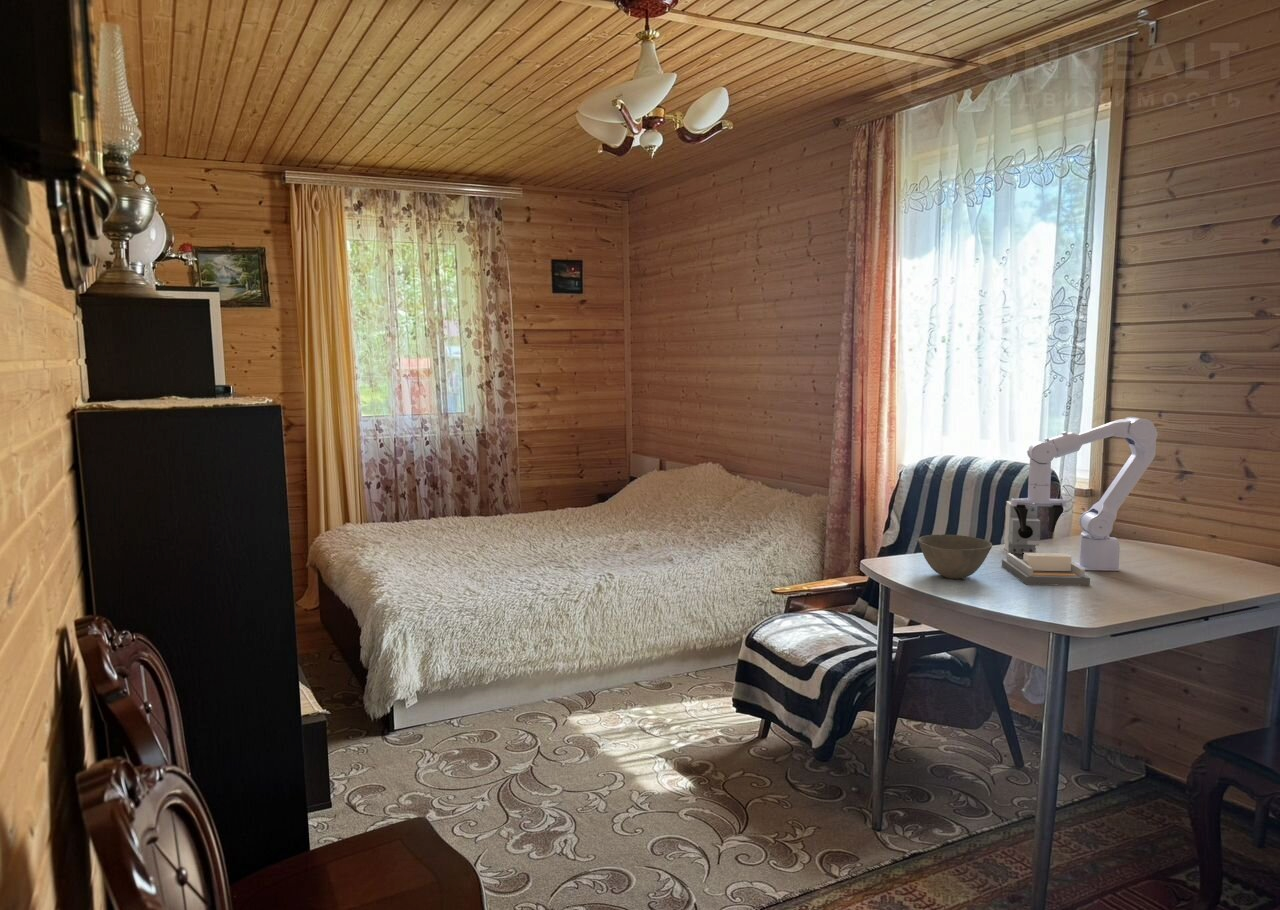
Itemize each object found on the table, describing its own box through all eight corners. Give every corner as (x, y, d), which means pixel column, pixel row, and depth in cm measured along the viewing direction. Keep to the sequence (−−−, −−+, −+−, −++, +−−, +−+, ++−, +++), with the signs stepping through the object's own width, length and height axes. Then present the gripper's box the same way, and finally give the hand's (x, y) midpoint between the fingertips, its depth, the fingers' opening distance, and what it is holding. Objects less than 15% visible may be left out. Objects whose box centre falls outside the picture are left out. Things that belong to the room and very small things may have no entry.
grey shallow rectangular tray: (1060, 567, 238) (1060, 553, 238) (1089, 585, 219) (1090, 570, 218) (1001, 565, 240) (1002, 552, 240) (1025, 584, 220) (1026, 569, 220)
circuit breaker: (1012, 558, 250) (1014, 508, 248) (1004, 547, 263) (1006, 500, 262) (1040, 559, 248) (1042, 509, 246) (1029, 548, 262) (1031, 501, 260)
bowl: (905, 578, 227) (906, 542, 226) (933, 565, 241) (934, 531, 240) (975, 590, 215) (976, 552, 214) (1000, 576, 229) (1002, 540, 228)
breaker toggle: (1064, 567, 229) (1065, 553, 228) (1070, 571, 225) (1071, 556, 224) (1023, 566, 230) (1023, 552, 229) (1028, 570, 226) (1028, 555, 225)
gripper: (1060, 482, 242) (1058, 528, 243) (1008, 481, 243) (1006, 527, 245) (1070, 485, 235) (1067, 533, 236) (1016, 485, 236) (1014, 532, 238)
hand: (1037, 531), depth 240 cm, fingers open, 7 cm apart
